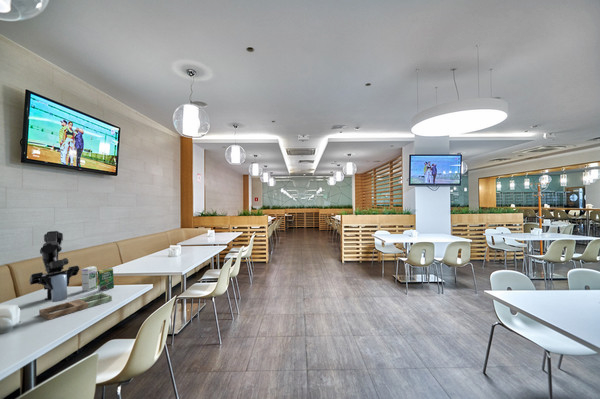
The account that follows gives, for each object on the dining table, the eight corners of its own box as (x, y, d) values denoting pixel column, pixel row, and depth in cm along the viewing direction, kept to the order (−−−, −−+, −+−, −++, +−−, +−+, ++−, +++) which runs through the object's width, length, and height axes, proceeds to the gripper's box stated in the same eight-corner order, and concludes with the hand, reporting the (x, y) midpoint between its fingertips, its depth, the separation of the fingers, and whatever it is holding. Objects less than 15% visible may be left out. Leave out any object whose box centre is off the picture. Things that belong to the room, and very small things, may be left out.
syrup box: (89, 291, 166) (88, 268, 166) (81, 290, 167) (81, 268, 167) (97, 288, 171) (97, 266, 171) (90, 287, 172) (90, 266, 173)
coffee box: (99, 291, 164) (99, 271, 164) (97, 290, 166) (97, 270, 166) (114, 287, 171) (113, 268, 171) (112, 287, 172) (111, 267, 173)
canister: (57, 298, 136) (56, 274, 136) (70, 297, 137) (69, 273, 137) (48, 302, 130) (47, 278, 130) (62, 301, 131) (61, 276, 131)
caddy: (47, 320, 125) (47, 314, 125) (39, 314, 131) (39, 310, 131) (111, 300, 148) (111, 296, 148) (101, 296, 154) (101, 292, 154)
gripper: (30, 258, 127) (38, 283, 122) (77, 251, 143) (86, 273, 138) (25, 271, 131) (33, 297, 126) (72, 263, 147) (80, 285, 142)
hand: (60, 287), depth 133 cm, fingers closed on canister, 6 cm apart
